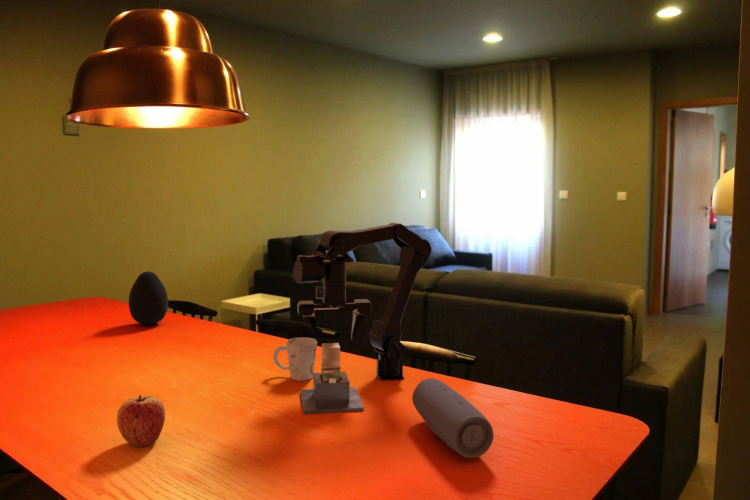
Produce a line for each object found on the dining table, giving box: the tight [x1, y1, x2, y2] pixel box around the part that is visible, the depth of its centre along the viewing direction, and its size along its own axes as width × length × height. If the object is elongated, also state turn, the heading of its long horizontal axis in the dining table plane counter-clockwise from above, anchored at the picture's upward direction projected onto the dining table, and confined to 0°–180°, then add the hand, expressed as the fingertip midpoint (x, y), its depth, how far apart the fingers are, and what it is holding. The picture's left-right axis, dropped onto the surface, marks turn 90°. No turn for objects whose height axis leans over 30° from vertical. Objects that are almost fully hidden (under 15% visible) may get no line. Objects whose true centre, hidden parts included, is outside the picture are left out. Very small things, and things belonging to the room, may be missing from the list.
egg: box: [128, 271, 169, 326], centre depth 217 cm, size 14×14×20 cm
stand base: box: [300, 371, 365, 415], centre depth 142 cm, size 14×14×7 cm
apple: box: [116, 395, 166, 447], centre depth 118 cm, size 9×9×10 cm
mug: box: [272, 337, 318, 382], centre depth 160 cm, size 8×13×10 cm, turn 78°
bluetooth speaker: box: [411, 378, 494, 459], centre depth 121 cm, size 23×9×10 cm, turn 17°
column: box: [320, 342, 342, 381], centre depth 141 cm, size 4×4×9 cm
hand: (334, 340), depth 151 cm, fingers open, 9 cm apart
